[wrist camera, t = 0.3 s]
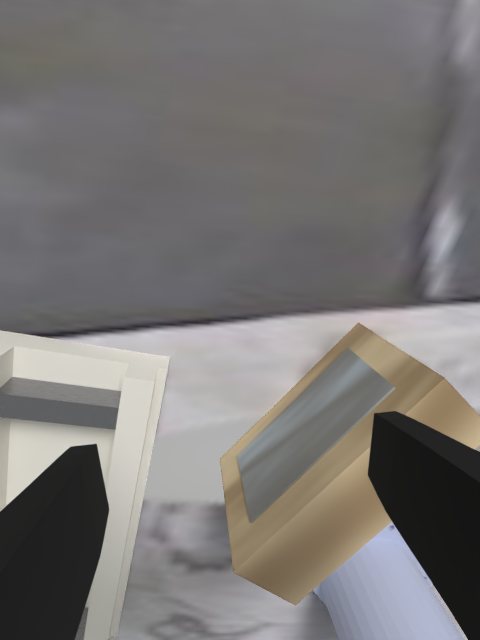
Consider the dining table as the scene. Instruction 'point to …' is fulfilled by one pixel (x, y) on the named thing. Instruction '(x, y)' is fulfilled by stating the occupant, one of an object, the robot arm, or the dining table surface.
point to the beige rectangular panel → (326, 462)
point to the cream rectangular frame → (83, 440)
